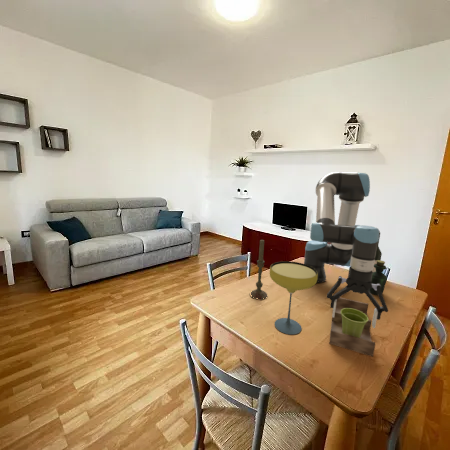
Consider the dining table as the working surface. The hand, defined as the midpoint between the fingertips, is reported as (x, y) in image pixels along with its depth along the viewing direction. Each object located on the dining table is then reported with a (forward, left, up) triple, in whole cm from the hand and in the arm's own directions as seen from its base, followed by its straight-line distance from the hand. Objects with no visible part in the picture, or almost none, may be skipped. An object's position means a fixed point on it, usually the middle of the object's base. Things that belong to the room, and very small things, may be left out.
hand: (352, 320), depth 92 cm
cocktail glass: (-23, -5, -7) cm, 25 cm away
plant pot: (0, 0, -6) cm, 6 cm away
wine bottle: (+12, +72, -7) cm, 74 cm away
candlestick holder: (-42, +14, -7) cm, 45 cm away
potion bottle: (+13, +49, -7) cm, 52 cm away
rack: (0, +7, -7) cm, 10 cm away
